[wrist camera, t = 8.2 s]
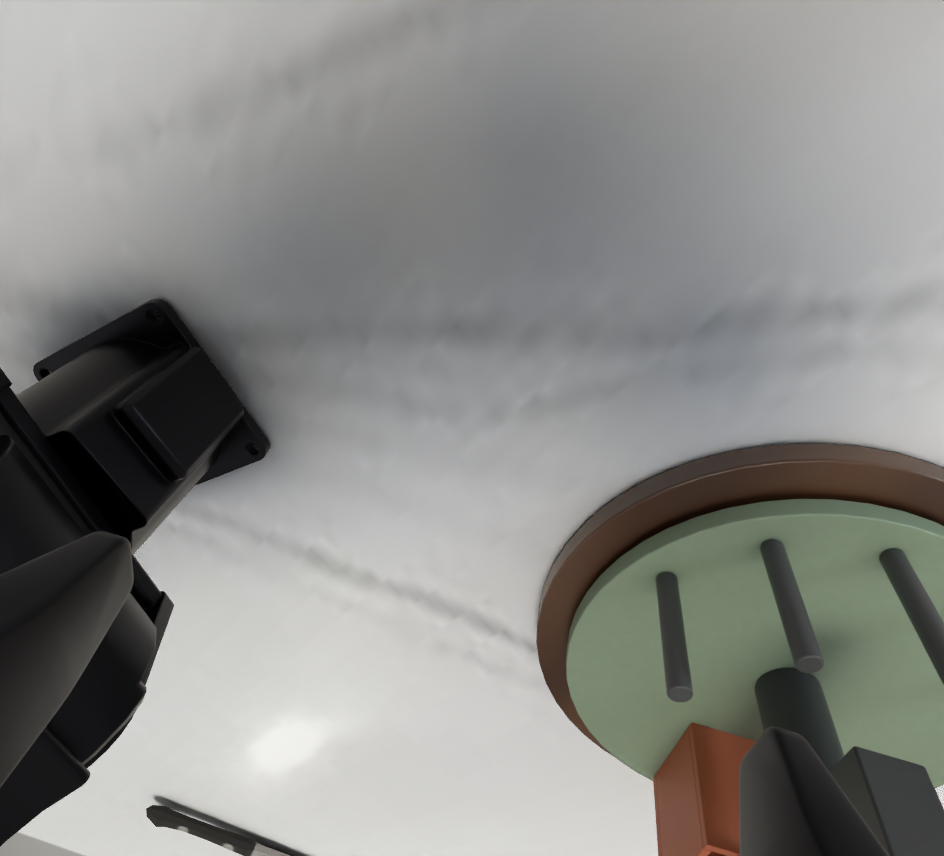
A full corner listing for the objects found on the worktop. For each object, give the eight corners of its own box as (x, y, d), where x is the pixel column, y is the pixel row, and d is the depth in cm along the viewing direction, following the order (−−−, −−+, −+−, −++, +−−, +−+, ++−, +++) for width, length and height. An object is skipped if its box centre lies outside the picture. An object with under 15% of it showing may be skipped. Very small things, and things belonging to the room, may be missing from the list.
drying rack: (873, 833, 28) (998, 1207, 19) (521, 729, 29) (484, 1050, 20) (1158, 582, 20) (1614, 1040, 11) (654, 439, 20) (695, 770, 11)
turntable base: (480, 696, 30) (477, 715, 29) (662, 362, 20) (664, 377, 19) (848, 826, 30) (855, 849, 30) (1199, 561, 21) (1225, 584, 20)
